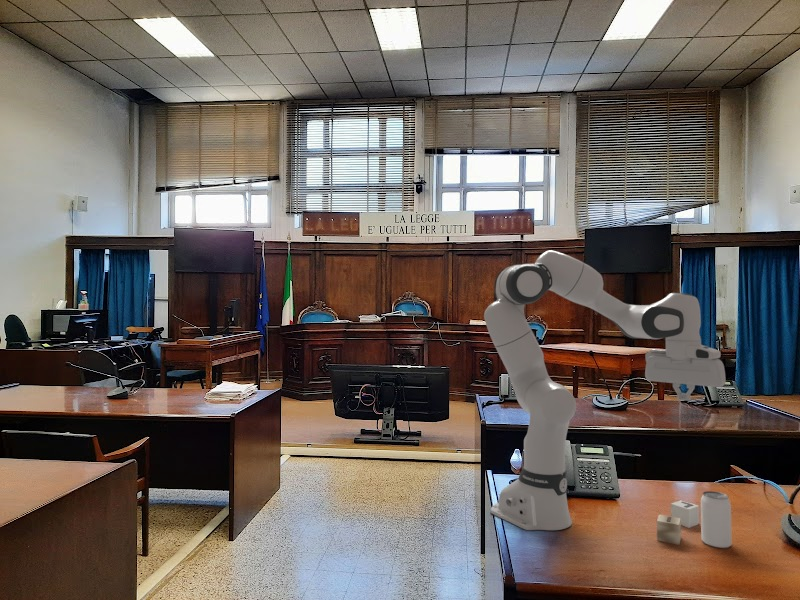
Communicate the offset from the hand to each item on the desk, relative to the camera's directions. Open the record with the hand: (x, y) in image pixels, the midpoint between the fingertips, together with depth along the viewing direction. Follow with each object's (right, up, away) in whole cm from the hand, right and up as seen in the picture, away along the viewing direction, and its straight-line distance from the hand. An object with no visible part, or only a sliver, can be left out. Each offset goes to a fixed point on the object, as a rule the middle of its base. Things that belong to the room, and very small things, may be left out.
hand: (683, 399), depth 149 cm
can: (-1, -33, -16) cm, 37 cm away
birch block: (-11, -33, -14) cm, 37 cm away
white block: (-2, -33, -3) cm, 33 cm away
